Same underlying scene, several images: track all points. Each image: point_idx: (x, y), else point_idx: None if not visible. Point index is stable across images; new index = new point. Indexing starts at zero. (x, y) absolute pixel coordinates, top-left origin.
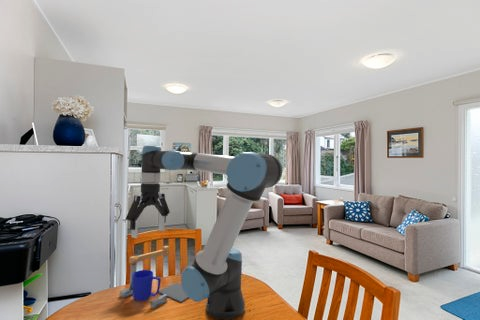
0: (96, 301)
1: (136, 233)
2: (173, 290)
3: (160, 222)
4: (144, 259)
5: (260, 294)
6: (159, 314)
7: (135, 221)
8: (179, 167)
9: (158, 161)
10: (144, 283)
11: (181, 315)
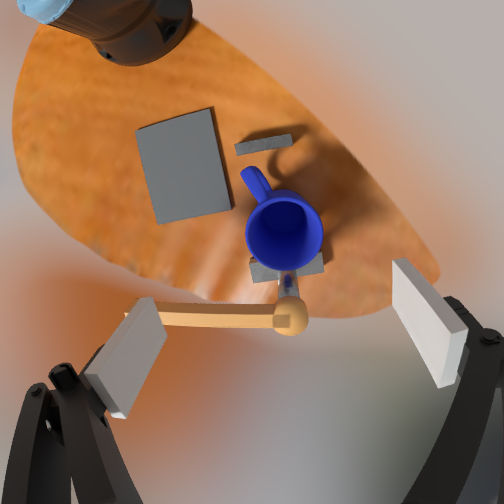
0: (374, 279)
1: (414, 273)
2: (191, 182)
3: (139, 362)
4: (245, 304)
5: (50, 41)
6: (289, 98)
7: (465, 340)
8: None
9: None
10: (295, 195)
11: (246, 56)
